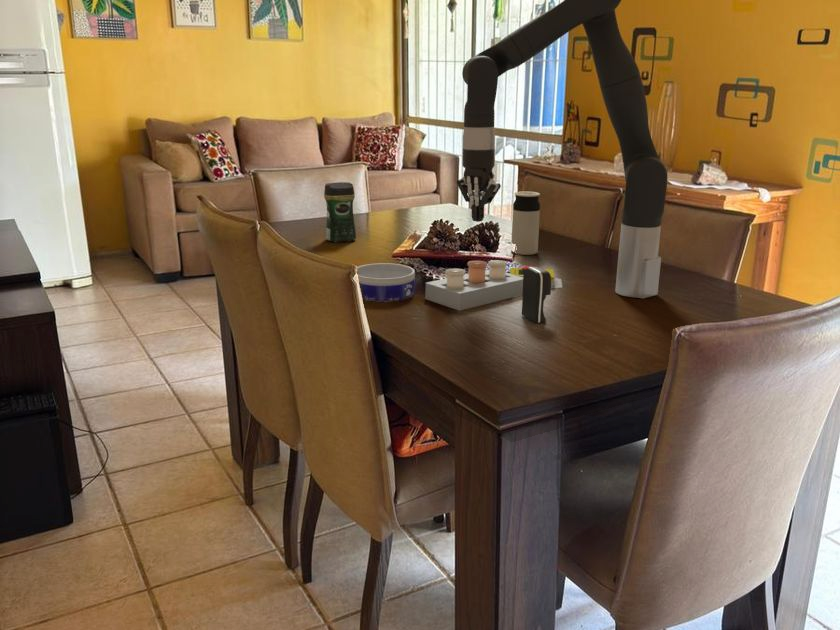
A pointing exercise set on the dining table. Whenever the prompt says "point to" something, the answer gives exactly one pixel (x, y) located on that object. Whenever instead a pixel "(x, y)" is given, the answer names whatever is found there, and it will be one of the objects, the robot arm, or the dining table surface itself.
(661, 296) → the dining table surface
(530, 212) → the travel mug
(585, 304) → the dining table surface
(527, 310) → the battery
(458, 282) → the ivory plug
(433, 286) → the board
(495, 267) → the ivory plug
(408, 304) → the dining table surface
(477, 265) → the terracotta plug
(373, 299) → the dog bowl
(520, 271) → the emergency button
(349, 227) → the coffee jar
